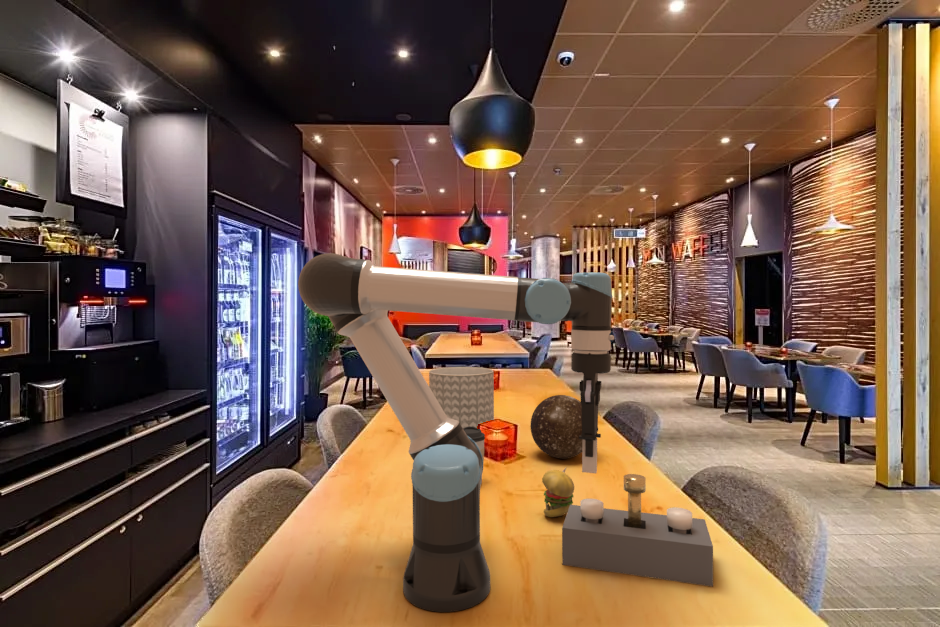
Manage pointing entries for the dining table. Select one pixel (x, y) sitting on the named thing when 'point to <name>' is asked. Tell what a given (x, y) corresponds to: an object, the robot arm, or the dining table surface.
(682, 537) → the mount block
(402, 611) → the dining table surface
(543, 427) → the decorative sphere
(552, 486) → the hamburger
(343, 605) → the dining table surface
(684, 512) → the knob
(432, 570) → the robot arm
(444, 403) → the planter
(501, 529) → the dining table surface
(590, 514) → the knob
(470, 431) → the coffee cup
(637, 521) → the amber round-headed peg
